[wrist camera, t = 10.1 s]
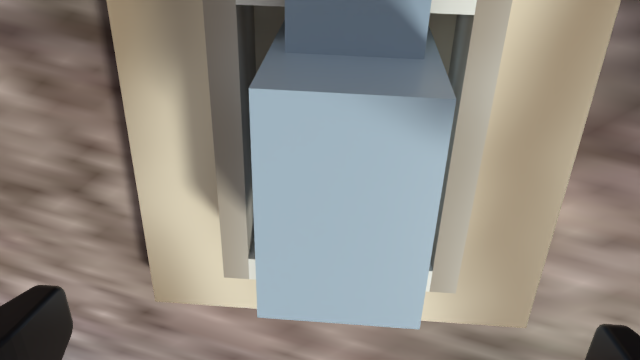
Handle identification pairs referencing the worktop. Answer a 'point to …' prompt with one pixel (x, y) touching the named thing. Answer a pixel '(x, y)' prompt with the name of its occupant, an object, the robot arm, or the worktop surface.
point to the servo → (348, 162)
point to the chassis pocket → (462, 160)
